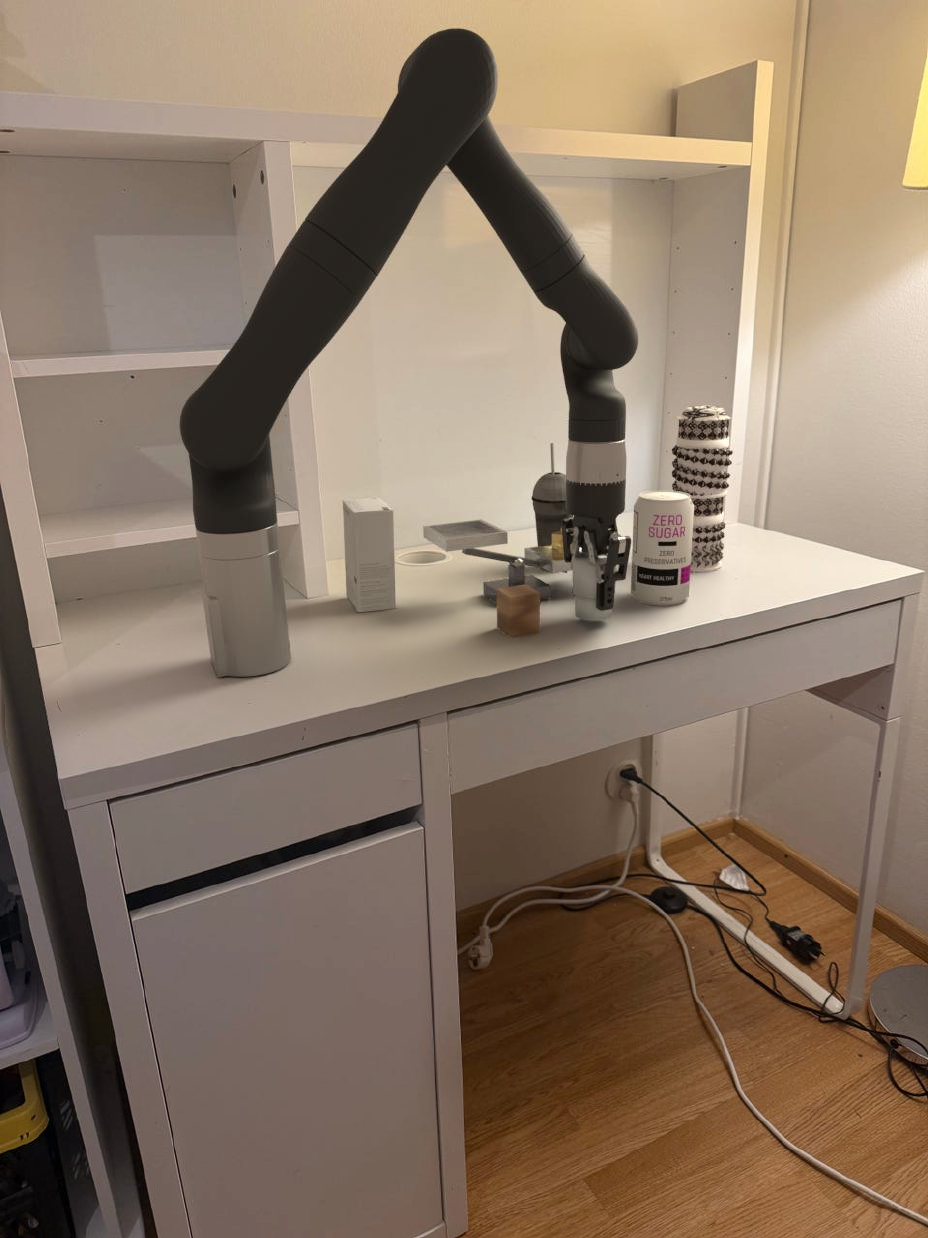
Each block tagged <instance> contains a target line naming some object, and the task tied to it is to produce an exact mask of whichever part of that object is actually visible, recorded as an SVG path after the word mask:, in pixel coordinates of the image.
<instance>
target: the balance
mask: <svg viewBox="0 0 928 1238" xmlns="http://www.w3.org/2000/svg"><path fill="white" fill-rule="evenodd" d="M422 527H423V528H422V529H423V538H424V539H426V540H427V541H429V542H431V543H432V544H434V545H435V546H437V547H438V548H440V549H442V550H443V551H445V552H453V551H461V554H464V555H465V556H466V555H467V556H471V557H477V558H482V559H488V560H494V561H499V562H506V563H508V564H507V566H508V567H507V568H508V571H507V572H508V574H507V575H508V576H507V578H502V579H497V580H495V579H494V580H490V581H484V582H483V596H484V595H485V596H484V597H485V598H487V597H488V598H487V599H489V600H490V599H491V600H490V601H491V602H493V603H495V604H496V605H497V589H499V588H506V587H512V586H519V585H527V586H529V587H531V588H532V589H534V590H536V591H537V592H539V593H540V601H543V600H551V597H552V596H551V591H552V590H551V586H552V585H551V584H549V583H547V582H545V581H544V580H542V579H540V578H538V577H536V576H534V575H533V574H531V575H526V566H527V567H532V568H538V569H540V568H542V569H546V570H547V571H546V572H548V571H549V572H548V573H551V574H557V573H565V574H567V573H568V572H570V571H573V570H572V569H571V566H570V564H571V563H570V562H568V563H566V562H565V560H564V550H563V539H562V527H561V531H557V532H554V533H552V544H551V545H544V546H538V545H536V546H530V547H524V556H523V557H522V556H517V555H512V554H506V553H501V552H495V551H490V550H485V549H479V548H483V547H485V548H486V547H491V546H499V545H508V539H509V538H508V532H507V531H506V530H503V529H502V528H499V527H497V526H495V524H494V525H493V524H492V523H490V522H487V521H485V520H483V519H480V518H479V519H474V520H473V519H472V520H465V521H457V522H456V521H455V522H448V523H447V522H446V523H440V524H431V525H423V526H422ZM571 535H573V534H571ZM571 547H572V544H571V545H570V548H571ZM604 556H607V555H604Z"/></svg>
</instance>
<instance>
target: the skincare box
mask: <svg viewBox="0 0 928 1238" xmlns="http://www.w3.org/2000/svg"><path fill="white" fill-rule="evenodd" d="M342 510H343V512H342V514H343V515H342V516H343V540H344V543H343V544H344V563H345V586H346V587H345V589H346V593H345V594H346V598H347V599H348V600H349V601H350V602H351V603H352V605H353V607H354V609H355V610H356V612H357V613H368V612H377V611H385V610H386V611H387V610H394V609H396V608H397V607H396V606H397V604H396V569H395V568H396V563H395V560H396V559H395V557H396V556H395V524H394V523H395V522H394V520H395V518H394V510H393V509H392V507H390V506H389V504H388V502H386V501H383V500H382V499H381V498H380V497H369V498H367V497H366V498H351V499H349V498H348V499H343V500H342Z"/></svg>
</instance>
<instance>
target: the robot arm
mask: <svg viewBox="0 0 928 1238" xmlns="http://www.w3.org/2000/svg"><path fill="white" fill-rule="evenodd" d="M498 72H499V70H498V65H497V61H496V57H495V54H494V53H493V50H492V49H491V47H490V45H489V44H488V42H487V41H486V40H485V39H484V38H483V37H482V36H480V35H479V34H478V33H476V32H474V31H472V30H470V29H466V28H456V27H455V28H452V27H451V28H447V29H442V30H438V31H437V32H434V33H433V34H430V35H429V36H428V37H427V38H425V39H424V40H423V41H422V42H421V43H419V45H418V46H417V47H416V48H415V49H414V50H413V51H412V53H411V54H410V55H409V56H408V57H407V59H406V60H405V61H404V63H403V65H402V67H401V69H400V72H399V75H398V81H397V93H396V95H395V97H394V99H393V101H392V103H391V104H390V107H389V109H388V110H387V112H386V114H385V115H384V117H383V118H382V121H381V123H380V124H379V126H378V127H377V129H376V131H375V133H373V135H372V137H370V140H369V141H368V142H367V143H366V145H365V146H364V147H363V148H362V149H361V151H360V152H359V153H358V155H356V156H355V157H354V159H352V161H351V162H350V163H349V164H348V165H347V166H346V167H345V168H344V169H343V170H342V172H340V174H339V175H338V176H337V177H336V179H334V181H333V182H332V183H331V185H330V186H329V187H328V188H327V189H326V191H325V192H324V193H323V195H321V196H320V198H319V199H318V200H317V202H316V203H315V204H314V205H313V207H312V209H311V210H310V211H309V212H308V214H307V216H306V217H305V218H304V220H303V221H302V223H301V224H300V226H299V228H298V229H297V230H296V232H295V234H294V236H293V237H292V238H291V240H290V241H289V243H288V245H287V246H286V248H284V251H283V252H282V254H281V256H280V258H279V260H278V262H277V263H276V265H275V267H274V269H273V271H272V272H271V275H270V276H269V277H268V280H267V281H266V284H265V286H264V287H263V290H262V292H261V293H260V296H259V298H258V300H257V302H256V305H255V307H254V309H253V312H252V313H251V316H250V317H249V319H248V322H247V323H246V325H245V327H244V329H243V330H242V332H241V334H240V335H239V337H238V338H237V340H236V341H235V343H233V344H234V345H232V347H231V348H230V349H229V351H228V352H227V353H226V355H225V356H224V357H223V358H222V360H221V361H220V362H219V363H218V365H217V366H216V367H215V369H213V371H212V372H211V373H210V375H209V376H208V377H207V378H206V379H205V380H204V382H203V383H202V384H201V385H200V386H199V387H198V388H197V389H196V390H194V392H192V394H190V396H189V397H188V399H187V400H185V403H184V405H183V407H182V408H181V412H180V416H179V432H180V437H181V440H182V444H183V446H184V448H185V449H186V451H187V452H188V459H189V466H190V474H191V484H192V485H191V486H192V512H193V514H192V515H193V520H194V526H195V534H196V542H197V549H198V557H199V566H200V573H201V579H202V587H201V595H202V602H203V611H204V617H205V625H206V626H205V627H206V632H207V633H206V634H207V639H208V640H207V641H208V648H209V656H210V661H211V665H212V667H213V670H214V672H215V675H216V676H217V678H222V677H243V678H244V677H255V676H256V677H257V676H261V675H263V676H264V675H266V674H270V673H273V672H276V671H279V670H281V669H282V668H284V667H286V666H287V665H288V664H289V663H291V659H292V656H291V655H292V654H291V641H290V635H289V624H288V615H287V614H288V613H287V605H286V603H287V602H286V595H285V585H284V584H285V583H284V575H283V574H284V573H283V563H282V557H281V556H282V555H281V545H280V536H279V525H278V513H277V501H276V490H275V489H276V487H275V479H274V469H273V459H272V458H273V457H272V448H271V447H272V446H271V439H270V438H271V437H270V433H271V431H272V429H273V427H274V425H275V423H276V421H277V419H278V417H279V415H280V413H281V411H282V409H283V408H284V406H285V404H286V402H287V401H288V399H289V397H290V396H291V393H292V391H293V390H294V388H295V387H296V385H297V383H298V381H299V380H300V378H301V377H302V375H303V374H304V373H305V371H306V370H307V369H308V368H309V366H310V365H311V364H312V363H313V361H314V360H315V359H316V358H317V357H318V356H319V355H320V354H321V352H322V351H323V350H324V349H325V348H326V347H327V346H328V344H329V343H330V342H331V340H332V339H333V338H334V337H335V335H336V334H338V332H339V330H341V328H342V327H343V326H344V324H345V323H346V322H347V320H348V319H349V317H350V316H351V315H352V313H353V312H354V311H355V310H356V309H357V307H358V306H359V304H360V303H361V301H362V300H363V298H364V297H365V295H366V294H367V292H368V291H369V289H370V288H371V287H372V285H373V283H374V282H375V280H376V279H377V277H378V276H379V274H380V272H381V271H382V270H383V267H384V266H385V264H386V263H387V262H388V260H389V258H390V256H391V254H392V253H393V251H394V250H395V248H396V246H397V245H398V243H399V241H400V240H401V238H402V236H403V235H404V233H405V232H406V230H407V227H408V226H409V224H410V222H411V220H412V219H413V216H415V213H416V211H417V209H418V208H419V205H420V204H421V202H422V200H423V198H424V197H425V195H426V193H427V192H428V190H429V189H430V188H431V186H432V184H433V183H434V182H435V180H436V179H437V178H438V176H439V175H440V174H441V172H442V171H443V170H444V168H445V167H447V168H448V169H449V171H451V173H452V174H453V176H454V177H455V178H456V179H457V181H458V182H459V183H460V184H461V186H462V187H463V188H464V190H466V192H467V193H468V195H469V196H470V197H471V199H472V200H473V201H474V203H475V204H476V206H477V207H478V208H479V210H480V211H481V213H482V214H483V216H484V217H485V219H486V220H487V222H488V223H489V225H490V227H492V229H493V231H494V232H495V234H496V235H497V237H498V238H499V239H500V242H501V243H502V244H503V246H504V247H505V249H506V251H507V252H508V254H509V255H510V257H511V259H512V260H513V262H514V264H515V265H516V267H517V268H518V270H519V271H520V273H521V274H522V276H523V278H524V279H525V281H526V283H527V284H528V286H529V287H530V288H531V291H532V292H533V294H534V295H535V296H536V298H537V299H538V301H539V302H540V303H541V305H543V306H544V307H545V308H546V309H549V310H551V311H553V312H555V313H556V314H558V315H559V316H560V318H562V320H563V321H564V322H565V324H564V326H563V329H562V332H561V336H560V344H559V345H560V346H559V348H560V350H559V352H560V355H559V356H560V363H561V368H562V374H563V381H564V387H565V391H566V395H567V400H568V429H567V431H568V432H567V433H568V435H567V436H568V437H567V439H568V440H567V441H568V442H567V449H566V454H565V455H566V459H565V475H566V511H567V512H568V513H569V514H571V515H573V517H570V518H564V519H562V520H561V527H562V539H563V550H564V560H565V562H566V563H568V562H570V563H571V564H570V566H571V569H572V570H571V571H573V559H574V558H579V557H585V556H589V557H590V563H591V565H592V566H595V567H596V577H597V581H598V582H597V590H596V608H597V609H598V610H600V611H604V610H610V609H614V605H615V604H614V603H615V594H614V585H615V586H616V584H615V582H619V581H623V580H626V578H627V573H628V572H627V571H628V566H629V559H630V553H631V547H632V537H631V536H630V535H624V536H622V535H620V533H619V532H618V530H619V529H618V526H617V525H618V524H617V517H619V515H622V514H623V513H624V511H625V509H626V487H627V486H626V484H627V449H626V448H627V447H626V429H627V428H626V426H627V425H626V423H627V422H626V420H627V404H626V399H625V396H624V394H622V393H621V392H620V391H619V390H618V389H617V388H616V385H615V382H614V375H613V374H614V373H613V371H614V370H618V369H621V368H623V367H624V366H626V365H628V364H629V363H630V362H631V361H632V359H633V358H634V356H635V355H636V353H637V350H638V346H639V332H638V327H637V324H636V320H635V319H634V316H633V315H632V314H631V311H630V310H629V308H628V307H627V306H626V304H625V303H624V302H623V300H622V299H621V298H620V297H619V295H617V294H616V292H615V291H614V290H613V289H612V288H611V286H609V284H608V283H607V282H606V280H604V279H603V277H601V275H599V274H598V273H597V272H596V270H595V269H594V268H593V267H592V265H591V264H590V262H589V260H588V258H587V256H586V255H585V253H584V251H583V249H582V247H581V246H580V243H579V242H578V240H577V239H576V237H575V236H574V234H573V232H572V231H571V229H570V228H569V226H568V224H567V222H566V221H565V220H564V218H563V217H562V215H561V214H560V213H559V211H558V210H557V208H555V206H554V205H553V204H552V202H551V201H550V200H549V198H547V196H546V195H545V194H544V193H543V192H542V191H541V190H540V189H539V187H537V186H536V184H535V183H534V182H533V181H532V180H531V179H530V178H529V177H528V175H526V174H525V172H524V170H522V169H521V167H520V166H519V165H518V164H517V162H516V161H515V159H514V158H513V157H512V155H511V154H510V152H509V151H508V150H507V149H506V147H505V145H504V143H503V142H502V140H501V138H500V136H499V135H498V133H497V131H496V129H495V127H494V125H493V122H492V121H491V118H490V116H489V114H490V112H491V110H492V108H493V105H494V103H495V100H496V97H497V92H498V88H499V87H498V84H499V76H498V75H499V73H498ZM571 534H573V535H571ZM571 544H572V547H571V548H570V545H571ZM602 555H607V558H599V557H598V556H602ZM603 564H606V568H605V573H604V571H603ZM617 566H618V568H617ZM572 594H573V593H572ZM573 597H575V595H574V594H573Z"/></svg>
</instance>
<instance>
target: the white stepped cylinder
mask: <svg viewBox="0 0 928 1238" xmlns="http://www.w3.org/2000/svg"><path fill="white" fill-rule="evenodd" d="M598 557H599V558H607V556H604V555H602V556H598ZM605 568H606V564H603V571H604V573H605ZM571 582H572V583H571V584H572V585H571V586H572V588H571V590H572V592H571V593H572V594H574V595H575V596H574V595H573V596H574V615H575V617H576V618H578V619H579V620H583V621H589V622H597V621H598V622H599V621H604V620H605V621H606V620H608V619H610V618H611V617H612V613H613V612H612V609H613V608H612V609H610V610H604V611H600V610H598V609H597V608H596V590H597V582H598V581H597V577H596V567H595V566H592V565H591V563H590V557H589V556H585V557H579V558H574V559H573V570H572V581H571ZM616 582H617V581H616ZM616 582H615V585H614V595H615V594H616Z"/></svg>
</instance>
